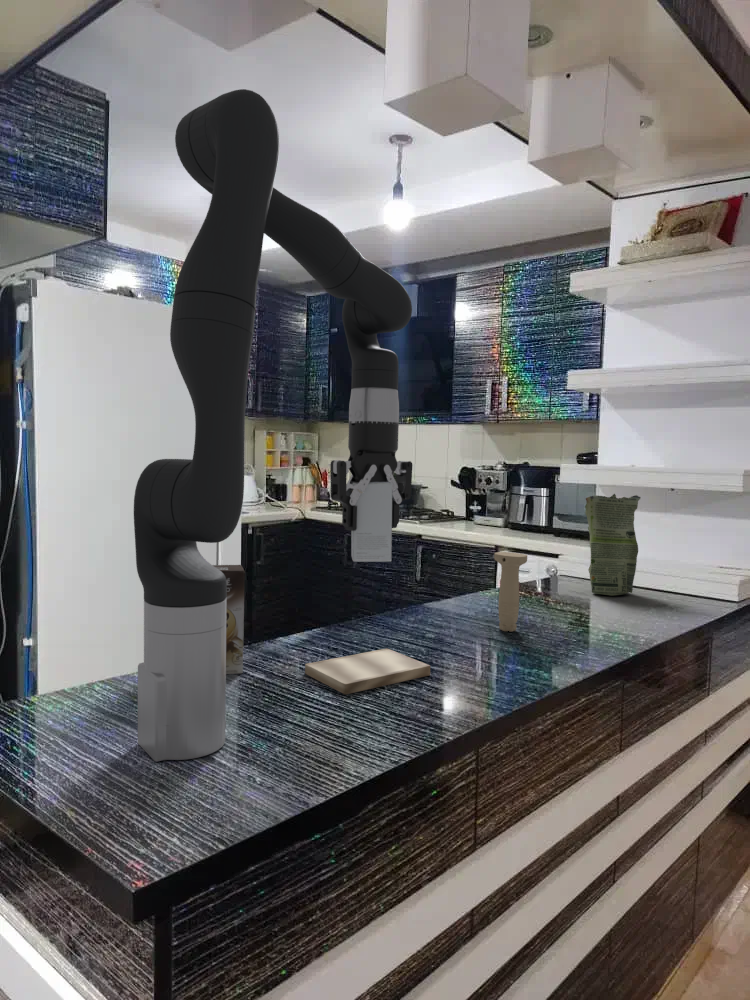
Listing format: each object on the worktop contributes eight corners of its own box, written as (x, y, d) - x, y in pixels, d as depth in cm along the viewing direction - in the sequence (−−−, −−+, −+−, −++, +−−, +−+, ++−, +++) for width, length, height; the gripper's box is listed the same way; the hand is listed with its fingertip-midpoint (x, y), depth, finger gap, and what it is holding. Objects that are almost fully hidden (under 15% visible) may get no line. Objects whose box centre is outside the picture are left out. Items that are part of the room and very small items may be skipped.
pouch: (578, 592, 177) (582, 493, 175) (597, 586, 186) (602, 491, 184) (622, 599, 170) (627, 496, 168) (639, 592, 179) (645, 494, 177)
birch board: (345, 694, 100) (345, 684, 100) (305, 673, 109) (305, 663, 109) (430, 675, 110) (430, 665, 110) (387, 657, 119) (387, 648, 119)
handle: (515, 635, 134) (518, 557, 133) (486, 629, 139) (489, 553, 138) (528, 631, 138) (531, 555, 137) (500, 625, 142) (503, 551, 141)
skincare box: (388, 558, 111) (390, 481, 110) (392, 563, 106) (394, 482, 105) (349, 557, 110) (351, 480, 109) (351, 562, 106) (353, 481, 105)
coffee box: (182, 677, 106) (183, 571, 105) (182, 664, 112) (182, 564, 111) (244, 674, 108) (245, 569, 107) (240, 661, 114) (241, 562, 113)
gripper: (395, 422, 114) (392, 524, 115) (320, 418, 105) (317, 528, 106) (426, 421, 108) (422, 529, 109) (348, 417, 99) (345, 534, 100)
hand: (370, 528), depth 108 cm, fingers closed on skincare box, 7 cm apart
